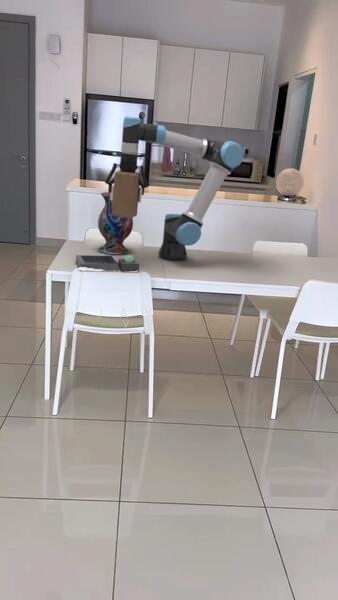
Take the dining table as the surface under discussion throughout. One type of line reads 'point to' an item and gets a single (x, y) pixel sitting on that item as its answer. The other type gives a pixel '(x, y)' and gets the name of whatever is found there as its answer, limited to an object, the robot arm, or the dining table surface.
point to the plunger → (128, 259)
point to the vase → (113, 228)
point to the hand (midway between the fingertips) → (125, 201)
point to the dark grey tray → (97, 262)
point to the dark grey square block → (128, 265)
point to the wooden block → (125, 194)
